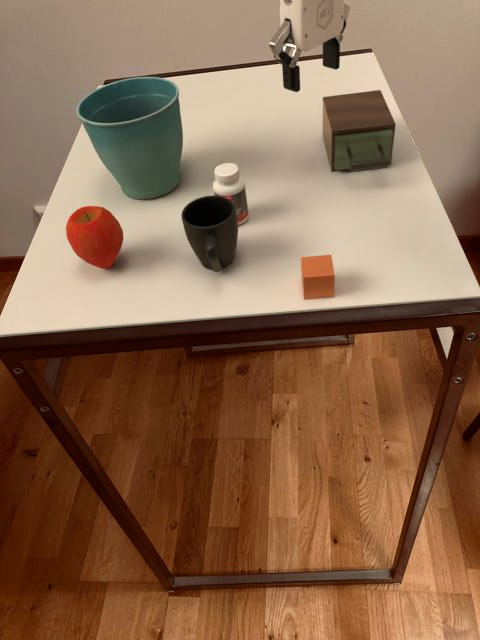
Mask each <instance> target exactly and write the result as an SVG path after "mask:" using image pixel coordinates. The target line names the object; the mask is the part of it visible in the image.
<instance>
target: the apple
mask: <svg viewBox="0 0 480 640" xmlns="http://www.w3.org/2000/svg"><path fill="white" fill-rule="evenodd" d="M65 235H66V240H67V241H68V244H69V245H70V247H71V249H72V251H73V252H74V253H75V254H76V256H77V257H78V258H80V259H81V260H82V261H84V262H85V263H87V264H89V265H91V266H93V267H96V268H98V269H102V270H106V269H108V270H109V269H110V268H111V267H112V266H113V265H114V264H115V262H116V261H117V259H118V257H119V254H120V252H121V250H122V247H123V243H124V230H123V228H122V226H121V224H120V222H119V220H118V219H117V218H116V216H115V215H114V214H113V213H112V212H111V211H110V210H108V209H107V208H105V207H103V206H97V205H86V206H81V207H80V208H77V209H76V210H75V211H74V212H73V213H72V214H71V215H70V216H69V217H68V219H67V222H66V225H65Z"/></svg>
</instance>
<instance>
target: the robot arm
mask: <svg viewBox="0 0 480 640" xmlns="http://www.w3.org/2000/svg"><path fill="white" fill-rule="evenodd" d="M350 10H351V7H350V5H349V4H346V3H345V2H344V0H279V28H278V30H276V32H275V34H274V35H273V36H272V38H271V39H270V40H269V42H268V46H269V48H270V50H271V53H272V54H273V58H274V59H275V60H276V61H277V62H278V64H279V65H281V67H282V69H281V70H282V84H283V85H282V86H283V88H284V89H285V90H288V91H291V92H294V93H298V92H300V91H301V72H300V71H301V69H300V65H298V61H299V59H300V56H301V54H302V52H309V51H311V50H313V49H315V48H317V47H319V46H321V45H322V66H323V67H325V68H328V69H331V70H335V71H337V70H338V69H340V67H341V66H340V63H341V43H342V41H343V39H344V35H343V33H344V31H345V30H346V27H347V20H348V17H349V14H350ZM291 50H292V54H291V55H290V52H291Z"/></svg>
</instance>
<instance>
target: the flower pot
mask: <svg viewBox="0 0 480 640" xmlns="http://www.w3.org/2000/svg"><path fill="white" fill-rule="evenodd" d="M179 91H180V90H179V87H178V85H177V84H176V83H175V82H174V81H172V80H169V79H167V78H163V77H157V76H139V77H129V78H125V79H121V80H117V81H114V82H110V83H108V84H105V85H102V86H101V87H98V88H96V89H94V90H93V91H91V92H90V93H88V94H86V95H85V96H84V97H83V98H82V99H81V100H80V101H79V102H78V104H77V106H76V111H75V112H76V116H77V117H78V119H79V120H80V121H81V123H82V125H83V128H84V130H85V132H86V133H87V135H88V138H89V140H90V143H91V144H92V146H93V148H94V149H93V150H94V151H95V152H96V154H97V156H98V158H99V159H100V161H101V163H102V165H103V166H104V167H105V169H107V171H109V173H110V174H111V175H112V176H113V178H114V179H115V180H116V182H117V183H118V184H119V186H120V188H121V191H122V193H123V194H124V195H126V196H127V197H129V198H131V199H137V200H149V199H154V198H158V197H161V196H163V195H166V194H168V193H170V192H171V191H173V190H174V189H175V188H176V187H177V186H178V185H179V184H180V182H181V179H182V172H181V164H182V163H181V162H182V155H183V147H184V132H183V131H184V130H183V122H182V116H181V105H180V98H179V96H180V92H179Z"/></svg>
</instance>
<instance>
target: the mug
mask: <svg viewBox="0 0 480 640" xmlns="http://www.w3.org/2000/svg"><path fill="white" fill-rule="evenodd" d="M180 216H181V221H182V225H183V229H184V233H185V237H186V239H187V241H188V243H189V245H190V247H191V250H192V251H193V252H194V254H195V256H196V257H197V259H198V260H199V262H200V264H201V265H202V266H203V268H204V269H206V270H210V271H213V272H215V273H221V272H223V270H224V269H227V268H228V267H230V266H231V265H232V264H233V263H234V261H235V256H236V251H237V247H238V239H239V225H238V222H237V215H236V209H235V205H234V204H233V202H232V201H231V200H230V199H228V198H226V197H222V196H215V195H214V194H213V195H205V196H200V197H197V198H195V199H193V200H192V201H190V202H188V204H185V206H184V208H183V209H182V211H181V215H180Z"/></svg>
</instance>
